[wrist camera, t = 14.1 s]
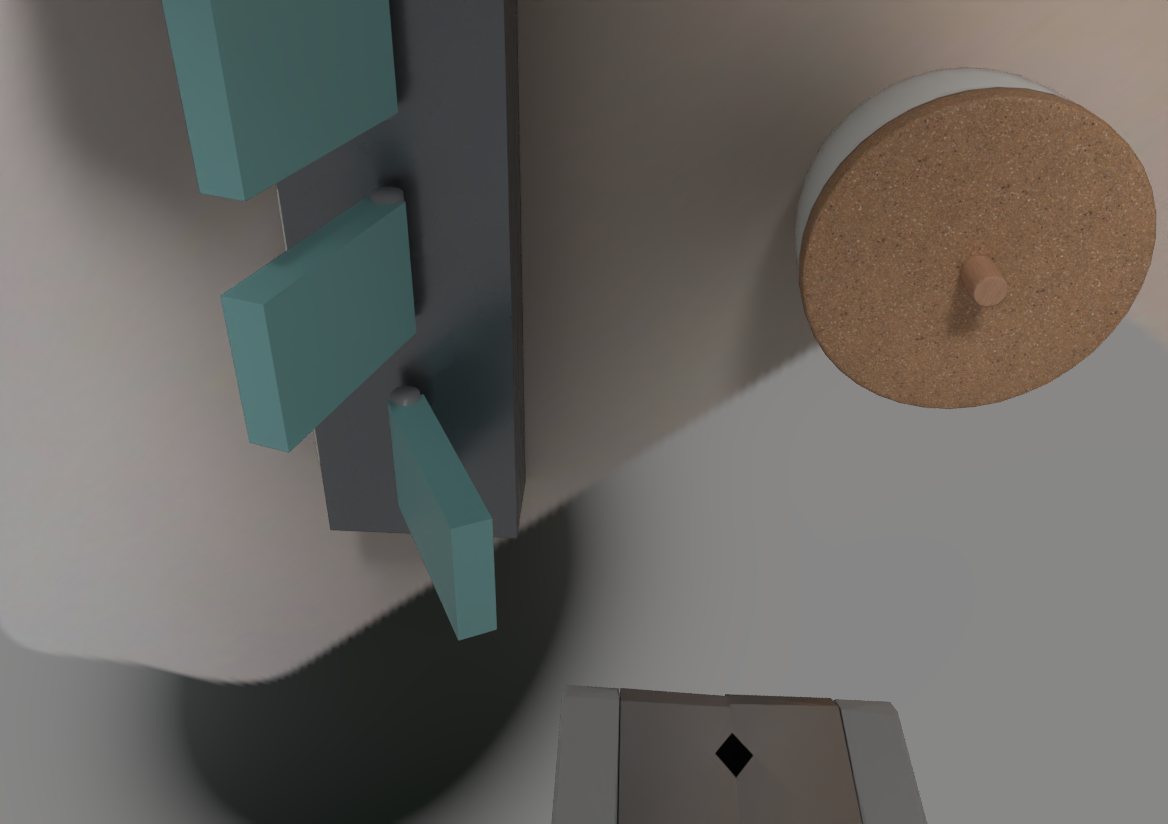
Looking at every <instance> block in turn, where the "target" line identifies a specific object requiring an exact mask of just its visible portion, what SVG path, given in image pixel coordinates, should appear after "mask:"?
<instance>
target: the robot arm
mask: <svg viewBox="0 0 1168 824" xmlns="http://www.w3.org/2000/svg"><path fill="white" fill-rule="evenodd" d="M552 824H927V821H926V817H925V814H924V810H923V806H922V802H921V798H920V795H919V791H918V787H917V783H916V780H915V776H914V772H913V768H912V765H911V761H910V757H909V753H908V750H907V746H906V742H905V738H904V734H903V731H902V727H901V723H900V719H899V716H898V712H897V710H896V709H895V708H894V706H893V705H892V704H891V702H882V701H861V700H839V699H835V700H834V701H833V700H832V699H831V698H812V697H784V696H757V695H730V694H725V696H719V695H705V694H692V693H678V692H666V691H653V690H639V689H625V688H621V689H620V698H619V689H618V688H603V687H589V686H574V685H565V689H564V693H563V697H562V703H561V715H560V727H559V740H558V752H557V764H556V776H555V788H554V800H553V812H552Z"/></svg>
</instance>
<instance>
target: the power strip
mask: <svg viewBox="0 0 1168 824" xmlns="http://www.w3.org/2000/svg"><path fill="white" fill-rule="evenodd" d="M389 9H390V21H391V33H392V45H393V57H394V69H395V81H396V93H397V105H398V113H397V116H396V117H395V118H394V119H391V120H387V121H383V122H381V123H379V124H377V125H376V126H374V127H372V128H370V129H369V130H367V131H365V132H364V133H362V134H360V135H358V136H357V137H355V138H353V139H352V140H350V141H348V142H346V143H345V144H343V145H341V146H339V147H338V148H336V149H334V150H333V151H331V152H329V153H327V154H326V155H324V156H322V157H321V158H319V159H317V160H315V161H314V162H312V163H310V164H308V165H307V166H305V167H303V168H302V169H300V170H298V171H296V172H295V173H293V174H291V175H290V176H288V177H286V178H284V179H283V180H281V181H279V182H277V187H278V188H277V189H276V192H277V198H278V205H279V211H280V218H281V224H282V231H283V237H284V243H285V250H286V251H287V250H289V249H290V248H292V247H293V246H295V245H296V244H298V243H299V242H301V241H302V240H304V239H305V238H306V237H308V236H309V235H311V234H312V233H314V232H315V231H317V230H318V229H320V228H321V227H323V226H324V225H326V224H327V223H329V222H330V221H332V220H333V219H335V218H336V217H337V216H339V215H340V214H342V213H343V212H345V211H346V210H348V209H349V208H351V207H352V206H354V205H355V204H357V203H358V202H360V201H361V200H363V199H364V198H366V197H367V196H368V195H370V192H371V191H372V190H374V189H376V188H380V187H397V188H400V189H401V190H403V197H404V201H405V202H406V214H407V226H408V238H409V250H410V262H411V274H412V286H413V298H414V310H415V322H416V333H415V334H414V336H413V337H411V338H410V339H409V340H408V341H407V342H405V343H404V344H403V345H402V346H401V347H400V348H399V349H398V350H397V351H396V352H395V353H394V354H393V355H392V356H391V357H390V358H389V359H387V360H386V361H385V362H384V363H383V364H382V365H381V366H380V367H379V368H378V369H377V370H376V371H375V372H374V373H373V374H372V375H371V376H370V377H368V378H367V379H366V380H365V381H364V382H363V383H362V384H361V385H360V386H359V387H358V388H357V389H356V390H355V391H354V392H353V393H352V394H350V395H349V396H348V397H347V398H346V399H345V400H344V401H343V402H342V403H341V404H340V405H339V406H338V407H337V408H336V409H335V410H334V411H332V412H331V413H330V414H329V415H328V416H327V417H326V418H325V419H324V420H323V421H322V422H321V423H320V424H319V425H318V426H317V427H316V428H314V429H313V430H314V436H315V443H316V449H317V456H318V462H320V465H321V472H322V478H323V485H324V491H325V497H326V504H327V510H328V517H329V523H330V530H342V531H365V532H388V533H410V530H409V528H408V526H407V524H406V521H405V519H404V517H403V515H402V512H401V510H400V508H399V506H398V496H397V487H396V477H395V468H394V458H393V449H392V439H391V430H390V420H389V411H388V402H389V401H391V392H392V391H393V390H394V389H395V388H397V387H401V386H413V387H416V388H417V389H419V391H420V395H422V394H424V396H425V398H426V400H427V401H428V403H429V405H430V407H431V409H432V410H433V412H434V414H435V416H436V418H437V419H438V421H439V423H440V425H441V427H442V428H443V430H444V432H445V434H446V436H447V438H448V439H449V441H450V443H451V445H452V447H453V448H454V450H455V452H456V454H457V456H458V457H459V459H460V461H461V463H462V465H463V466H464V468H465V470H466V472H467V474H468V475H469V477H470V479H471V481H472V483H473V484H474V486H475V488H476V490H477V492H478V494H479V495H480V497H481V499H482V501H483V503H484V504H485V506H486V508H487V510H488V512H489V513H490V515H491V517H492V522H493V537H503V538H517V533H518V527H519V520H520V514H521V507H522V501H523V494H524V487H525V425H524V368H523V311H522V254H521V197H520V141H519V84H518V27H517V0H389Z"/></svg>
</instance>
